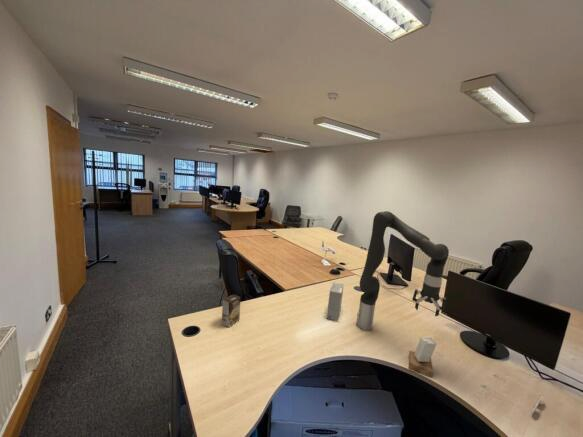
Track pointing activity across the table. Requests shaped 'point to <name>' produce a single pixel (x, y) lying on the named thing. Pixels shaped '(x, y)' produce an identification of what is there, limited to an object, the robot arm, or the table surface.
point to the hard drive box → (335, 301)
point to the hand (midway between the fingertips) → (426, 312)
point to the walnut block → (419, 365)
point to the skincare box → (425, 349)
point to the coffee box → (231, 310)
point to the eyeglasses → (514, 401)
